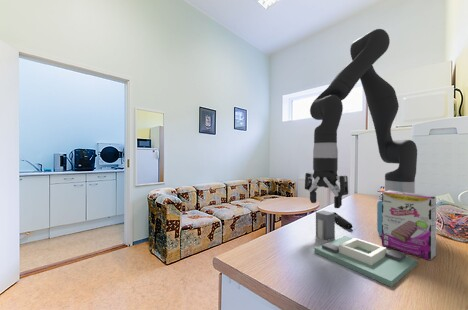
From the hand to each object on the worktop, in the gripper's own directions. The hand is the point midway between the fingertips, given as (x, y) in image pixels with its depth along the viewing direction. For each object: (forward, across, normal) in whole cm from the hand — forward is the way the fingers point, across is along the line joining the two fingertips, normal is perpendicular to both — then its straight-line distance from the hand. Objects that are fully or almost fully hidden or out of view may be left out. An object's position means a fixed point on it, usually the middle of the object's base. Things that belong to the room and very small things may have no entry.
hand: (324, 205), depth 68 cm
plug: (+10, 0, 0) cm, 11 cm away
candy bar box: (+11, -19, -10) cm, 24 cm away
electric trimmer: (+11, +5, -18) cm, 22 cm away
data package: (+10, -15, -18) cm, 26 cm away
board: (+11, -14, +5) cm, 18 cm away
